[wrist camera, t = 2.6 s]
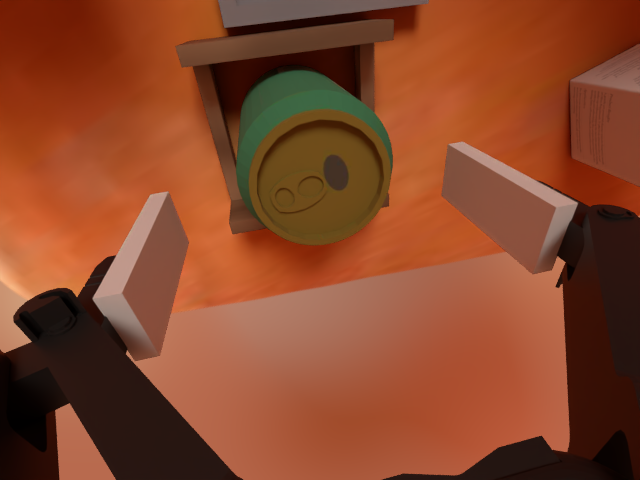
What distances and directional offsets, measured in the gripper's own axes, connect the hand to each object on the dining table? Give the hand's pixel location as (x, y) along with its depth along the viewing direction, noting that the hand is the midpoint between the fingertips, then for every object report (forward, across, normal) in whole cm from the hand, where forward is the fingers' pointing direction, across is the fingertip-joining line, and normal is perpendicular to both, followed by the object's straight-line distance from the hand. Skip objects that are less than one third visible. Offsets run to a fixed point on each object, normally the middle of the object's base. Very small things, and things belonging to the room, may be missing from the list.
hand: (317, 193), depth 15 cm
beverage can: (+12, 0, 0) cm, 12 cm away
